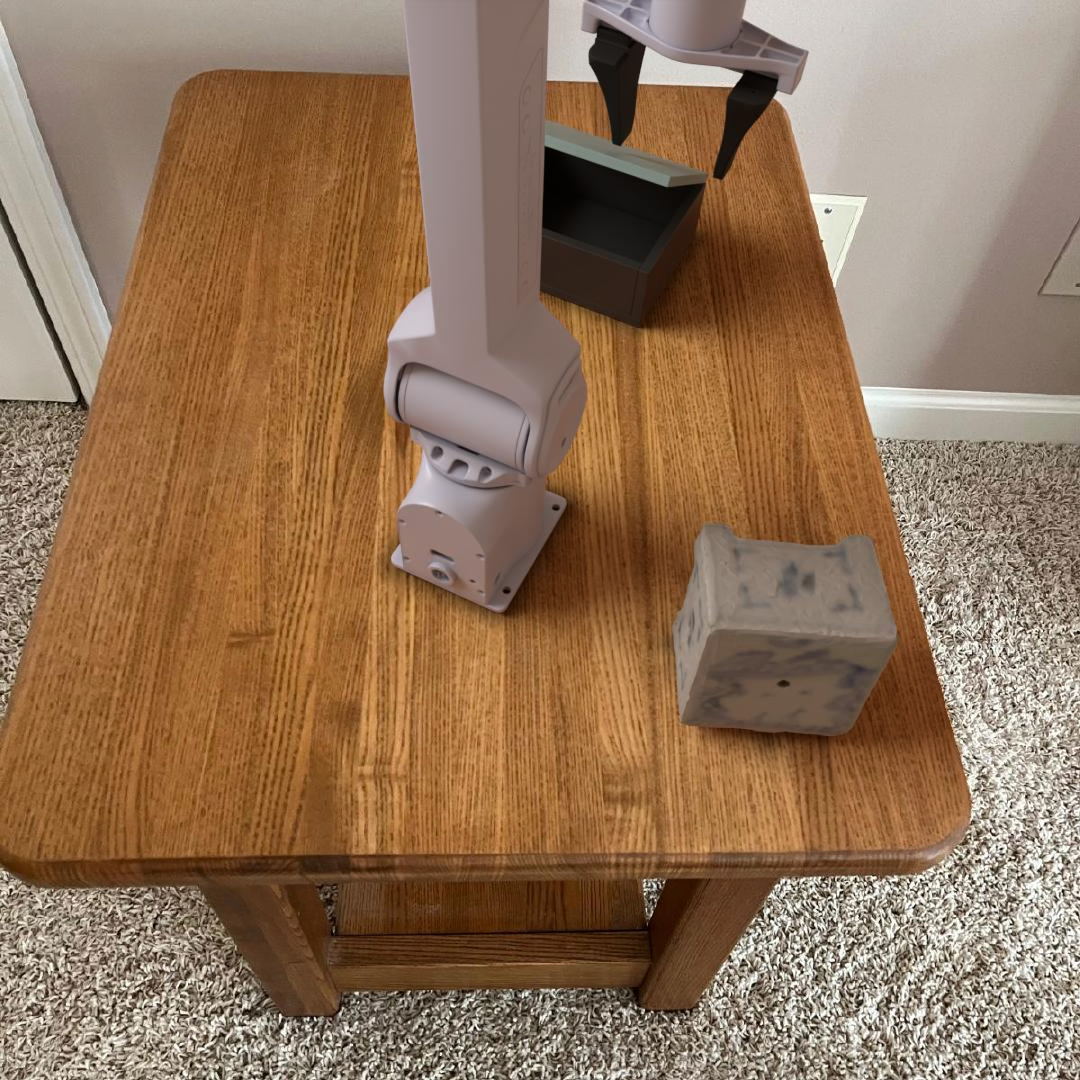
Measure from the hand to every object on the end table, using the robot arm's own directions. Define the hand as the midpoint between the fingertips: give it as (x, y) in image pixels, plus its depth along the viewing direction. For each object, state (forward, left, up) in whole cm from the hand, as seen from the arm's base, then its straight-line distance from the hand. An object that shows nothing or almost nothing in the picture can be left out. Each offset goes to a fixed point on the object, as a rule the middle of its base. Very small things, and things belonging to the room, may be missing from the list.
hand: (671, 154), depth 69 cm
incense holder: (-30, -19, -10) cm, 37 cm away
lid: (-1, +5, -1) cm, 5 cm away
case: (-1, +5, -10) cm, 11 cm away
